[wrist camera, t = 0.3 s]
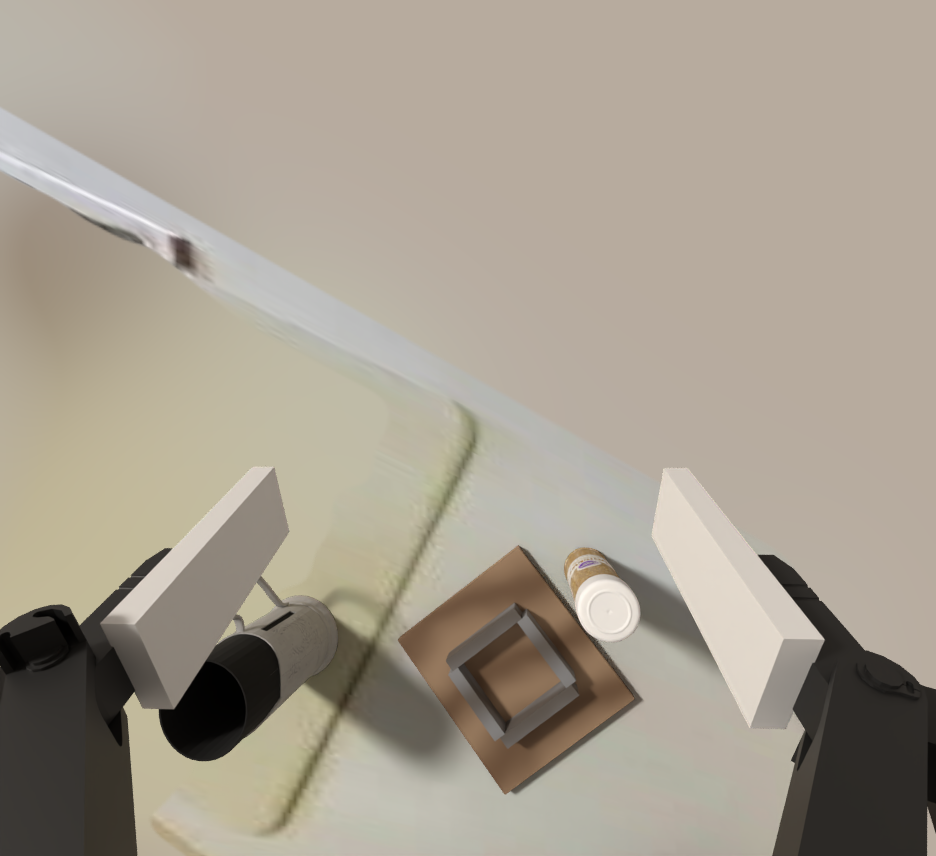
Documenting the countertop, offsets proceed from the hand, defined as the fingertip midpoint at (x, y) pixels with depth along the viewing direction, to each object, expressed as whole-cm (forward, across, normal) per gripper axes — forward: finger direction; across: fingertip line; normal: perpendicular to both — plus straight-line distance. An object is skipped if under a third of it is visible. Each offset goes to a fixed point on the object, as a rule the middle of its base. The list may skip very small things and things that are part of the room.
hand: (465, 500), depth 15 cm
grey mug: (+23, +21, +30) cm, 43 cm away
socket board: (+19, -3, +33) cm, 38 cm away
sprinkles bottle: (+23, -10, +24) cm, 35 cm away
